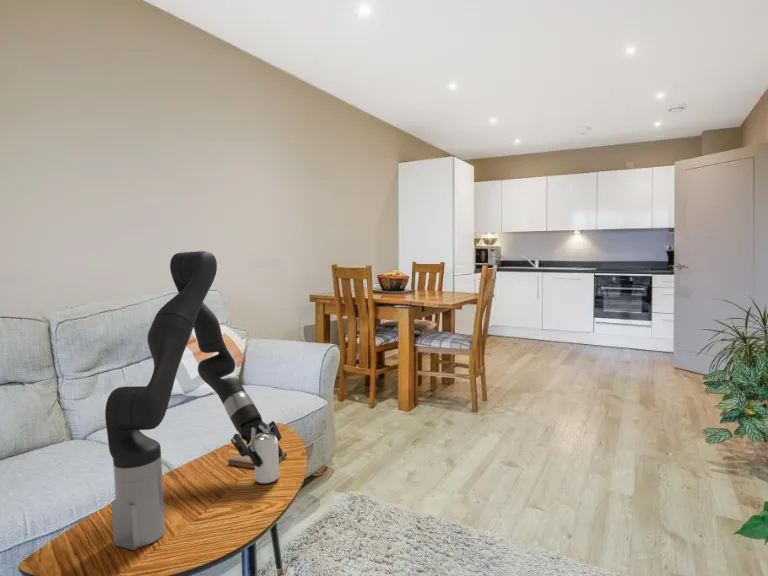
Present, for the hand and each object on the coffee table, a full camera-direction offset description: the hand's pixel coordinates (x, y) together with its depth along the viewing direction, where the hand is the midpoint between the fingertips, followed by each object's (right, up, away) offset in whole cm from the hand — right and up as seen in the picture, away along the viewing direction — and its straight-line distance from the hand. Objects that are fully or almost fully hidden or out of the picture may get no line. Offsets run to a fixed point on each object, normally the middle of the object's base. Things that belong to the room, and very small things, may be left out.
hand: (270, 460), depth 127 cm
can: (-1, -6, +1) cm, 6 cm away
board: (-7, -5, +15) cm, 17 cm away
